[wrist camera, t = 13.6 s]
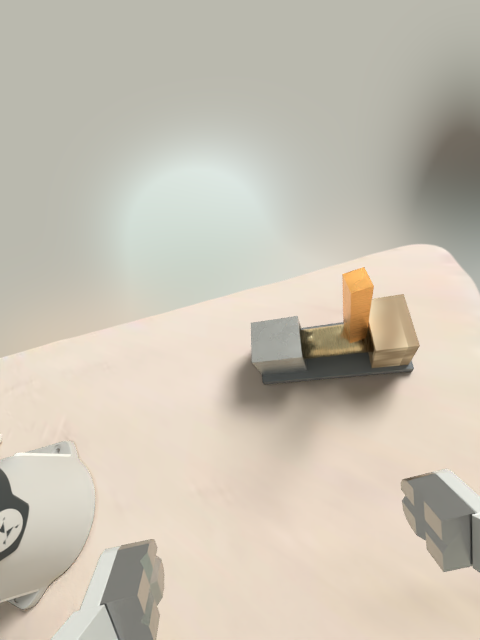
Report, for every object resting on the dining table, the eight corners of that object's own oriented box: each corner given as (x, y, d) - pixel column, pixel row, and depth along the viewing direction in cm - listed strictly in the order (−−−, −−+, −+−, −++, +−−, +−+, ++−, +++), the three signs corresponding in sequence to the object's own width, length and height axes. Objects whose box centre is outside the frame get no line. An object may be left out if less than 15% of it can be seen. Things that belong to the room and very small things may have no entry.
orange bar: (300, 363, 37) (278, 311, 25) (297, 337, 39) (276, 277, 27) (385, 354, 34) (406, 291, 22) (378, 327, 36) (394, 254, 24)
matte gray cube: (263, 375, 39) (251, 362, 34) (261, 339, 41) (250, 323, 37) (307, 371, 37) (302, 357, 33) (303, 334, 40) (297, 315, 35)
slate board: (264, 384, 39) (262, 382, 38) (262, 336, 42) (260, 333, 42) (412, 371, 34) (413, 368, 33) (397, 318, 38) (398, 314, 37)
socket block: (371, 368, 35) (375, 350, 30) (361, 323, 38) (364, 300, 33) (408, 364, 34) (419, 345, 29) (395, 318, 37) (403, 294, 32)
